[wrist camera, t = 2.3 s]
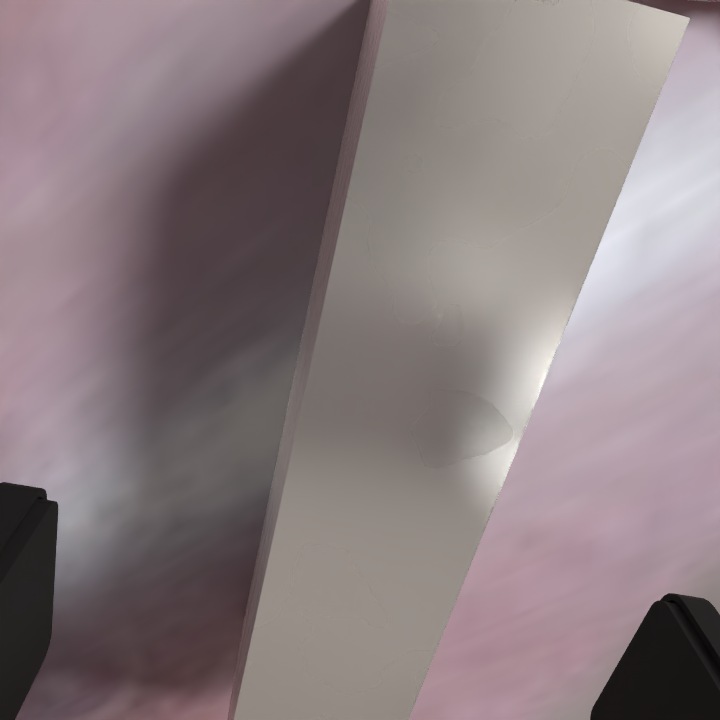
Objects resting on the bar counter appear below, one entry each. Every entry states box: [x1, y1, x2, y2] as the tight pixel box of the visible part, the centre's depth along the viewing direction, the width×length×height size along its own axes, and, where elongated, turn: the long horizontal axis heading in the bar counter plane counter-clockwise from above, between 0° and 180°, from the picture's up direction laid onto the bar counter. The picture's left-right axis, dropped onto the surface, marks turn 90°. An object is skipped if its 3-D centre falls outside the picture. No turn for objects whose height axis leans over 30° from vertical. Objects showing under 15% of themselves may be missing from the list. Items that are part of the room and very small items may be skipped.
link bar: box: [227, 0, 690, 720], centre depth 12 cm, size 16×3×6 cm, turn 167°
